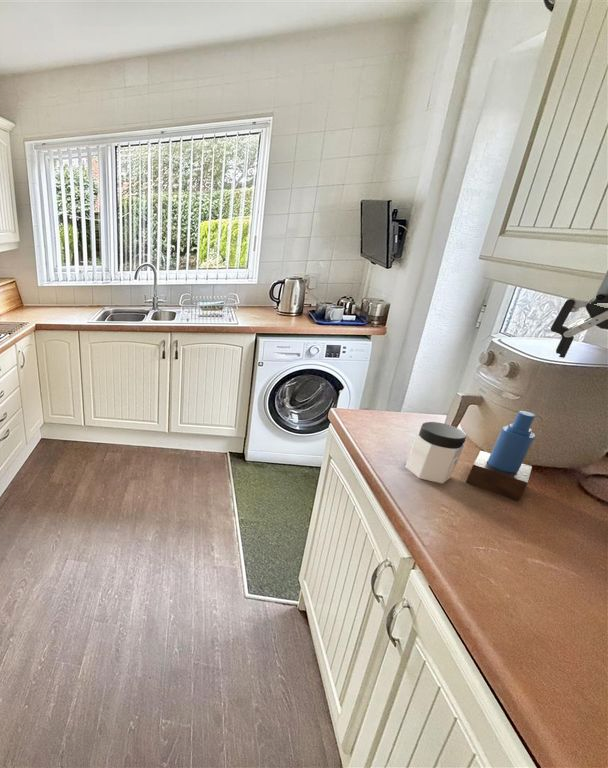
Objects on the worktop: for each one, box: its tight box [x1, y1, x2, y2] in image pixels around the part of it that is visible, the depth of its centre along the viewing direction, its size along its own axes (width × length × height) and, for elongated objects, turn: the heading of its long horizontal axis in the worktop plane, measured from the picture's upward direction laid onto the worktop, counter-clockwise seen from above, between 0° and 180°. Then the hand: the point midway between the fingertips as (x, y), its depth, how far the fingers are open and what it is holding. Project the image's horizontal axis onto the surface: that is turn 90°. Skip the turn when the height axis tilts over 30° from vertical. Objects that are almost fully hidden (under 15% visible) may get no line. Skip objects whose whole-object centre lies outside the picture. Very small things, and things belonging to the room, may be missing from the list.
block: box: [465, 450, 533, 502], centre depth 93 cm, size 9×9×5 cm
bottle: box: [488, 410, 536, 472], centre depth 89 cm, size 5×5×14 cm
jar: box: [405, 421, 467, 485], centre depth 96 cm, size 9×8×12 cm
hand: (596, 362), depth 71 cm, fingers open, 8 cm apart
